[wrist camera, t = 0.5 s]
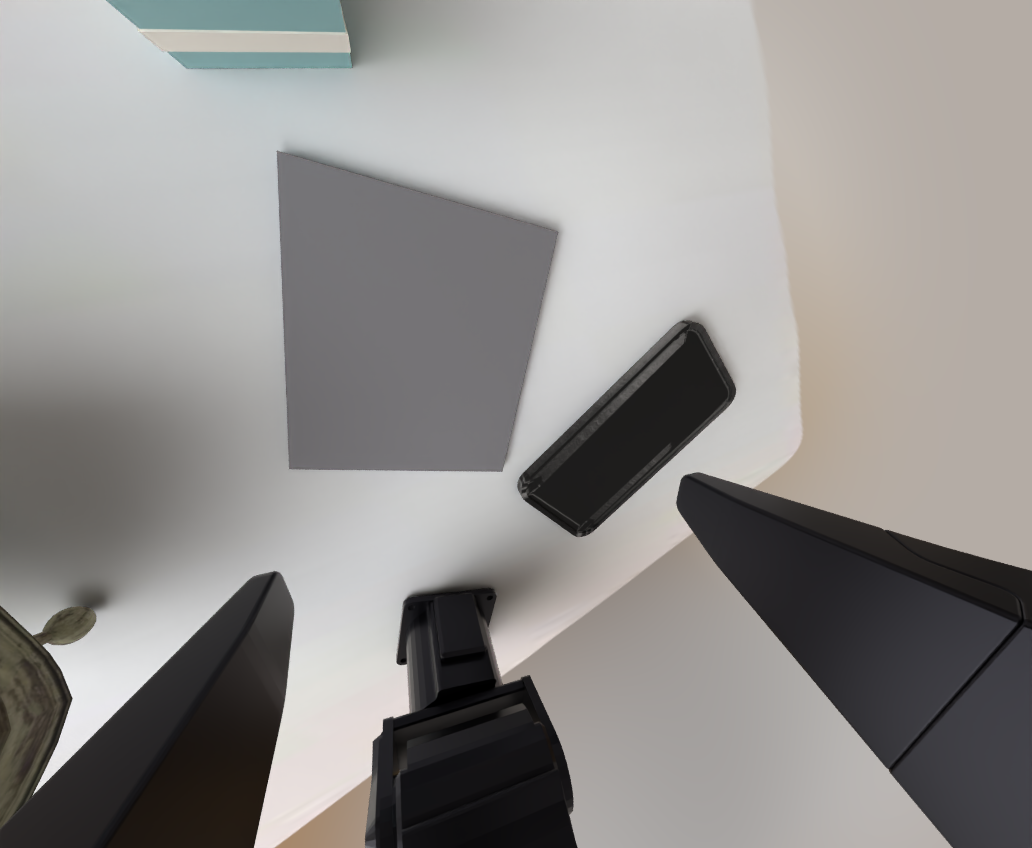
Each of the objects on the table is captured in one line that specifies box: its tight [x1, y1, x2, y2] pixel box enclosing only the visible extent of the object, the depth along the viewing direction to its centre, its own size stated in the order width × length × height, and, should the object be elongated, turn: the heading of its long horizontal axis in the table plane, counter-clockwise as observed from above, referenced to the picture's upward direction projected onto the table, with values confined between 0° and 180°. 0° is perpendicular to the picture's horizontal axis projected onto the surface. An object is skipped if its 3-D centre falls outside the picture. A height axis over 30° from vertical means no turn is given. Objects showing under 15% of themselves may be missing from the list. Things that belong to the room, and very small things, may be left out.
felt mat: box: [277, 151, 558, 472], centre depth 17 cm, size 13×11×1 cm
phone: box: [518, 321, 736, 537], centre depth 24 cm, size 8×1×15 cm
